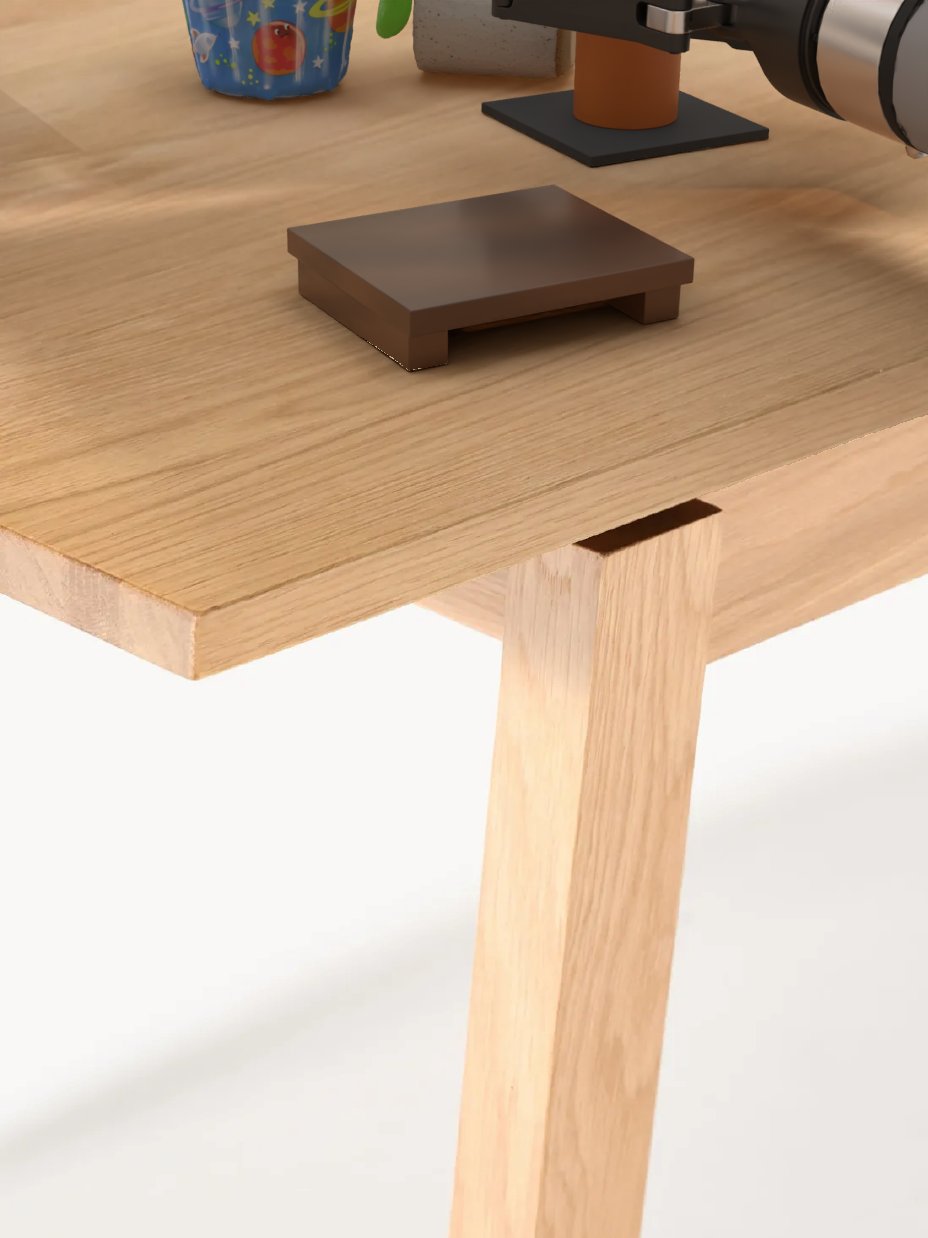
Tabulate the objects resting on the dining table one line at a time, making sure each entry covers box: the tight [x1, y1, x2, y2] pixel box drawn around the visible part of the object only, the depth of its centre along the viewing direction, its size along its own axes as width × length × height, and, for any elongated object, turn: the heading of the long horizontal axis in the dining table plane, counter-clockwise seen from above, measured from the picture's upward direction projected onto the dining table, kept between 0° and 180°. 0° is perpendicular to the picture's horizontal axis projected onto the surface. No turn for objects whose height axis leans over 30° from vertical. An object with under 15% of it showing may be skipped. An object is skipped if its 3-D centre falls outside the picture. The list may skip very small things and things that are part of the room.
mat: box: [480, 88, 770, 168], centre depth 104 cm, size 10×10×1 cm
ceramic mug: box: [412, 0, 576, 79], centre depth 112 cm, size 11×8×8 cm
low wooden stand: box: [286, 184, 696, 370], centre depth 82 cm, size 10×12×2 cm
